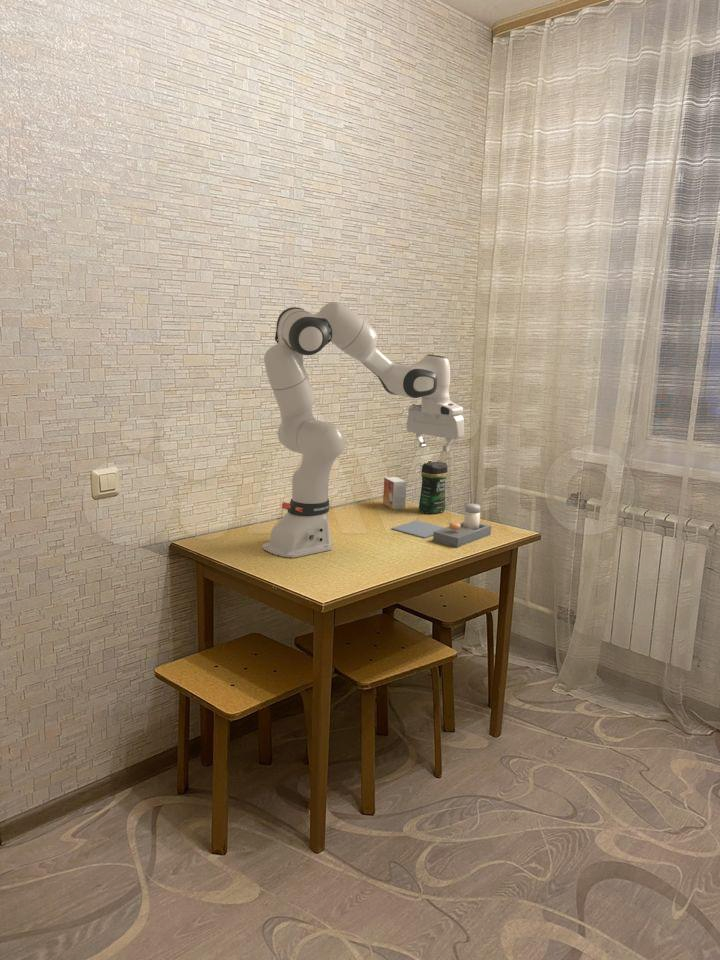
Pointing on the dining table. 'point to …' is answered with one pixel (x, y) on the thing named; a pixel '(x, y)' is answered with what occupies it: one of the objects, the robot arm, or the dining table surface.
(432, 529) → the mat
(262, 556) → the dining table surface
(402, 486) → the small box
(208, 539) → the dining table surface
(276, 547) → the robot arm
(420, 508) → the coffee jar
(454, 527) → the orange flat dome
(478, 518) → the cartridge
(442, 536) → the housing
